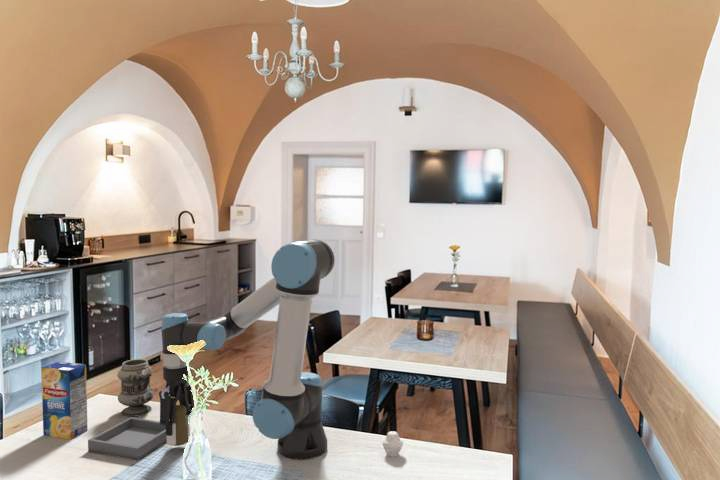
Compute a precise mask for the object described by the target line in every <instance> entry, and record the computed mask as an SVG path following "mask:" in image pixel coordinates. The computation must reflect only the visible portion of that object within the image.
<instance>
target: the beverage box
mask: <svg viewBox="0 0 720 480" xmlns="http://www.w3.org/2000/svg"><path fill="white" fill-rule="evenodd" d="M40 368H41V370H40V371H41V401H42V403H41V404H42V430H43V431H42V433H43V434H42V435H43V436H45V437H46V436H47V437H54V438H59V439H64V440H65V439H66V440H73V439H75V438H76V437H78V436H80V435H82V434H84V433H86V432H88V431H89V430H88V400H87V399H88V398H87V397H88V396H87V395H88V393H87V391H88V390H87V364H85V363H76V362H75V363H74V362H66V361H57V362H54V363H51V364H48V365H45V366H42V367H40Z"/></svg>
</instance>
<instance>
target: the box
mask: <svg viewBox="0 0 720 480" xmlns="http://www.w3.org/2000/svg"><path fill="white" fill-rule="evenodd" d="M165 443H166V444H167V436H166V426H165V425H161V424H160V420H159V421H158V420H152V419H145V418H138V417H134V416H129V417H128V418H126V419H125V420H122V421H121V422H119V423H117V424H115V425H114V426H112V427H110V428H107V429H106V430H104V431H102V432H100V433H99V434H97V435H94V436H93V437H91V438H88V439H87V451H88V452H90V453H95V454H100V455H101V454H102V455H106V456H113V457H118V458H123V459H129V460H133V461H139V460H141V459H142V458H144V457H146V456H147V455H149V454H150V453H151V452H153V451H155V450H157V449H158V448H159V447H161V446H163V445H164V444H165Z"/></svg>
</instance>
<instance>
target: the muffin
mask: <svg viewBox="0 0 720 480" xmlns="http://www.w3.org/2000/svg"><path fill="white" fill-rule="evenodd" d="M381 443H382V446H383V449H384V451H385V453H386V455H387V456H388V457H392V458H393V457H398V455H399V453H400V451H401V449H403V448H402V447H403V445H404V442H403V440H402V439H401V437H400V435H399V433H398V432H397V431H391V430H390V431H389V432H387V434H386V436H385V437H384V438H383V440H382V442H381Z"/></svg>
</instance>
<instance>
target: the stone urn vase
mask: <svg viewBox="0 0 720 480" xmlns="http://www.w3.org/2000/svg"><path fill="white" fill-rule="evenodd" d="M153 374H154V368H153V367H152V366H151V365H150V364H149V360H148V359H145V358H135V359H130V360H126V361H123V362H122V364H121V368H119V370H118V372H117V374H116V375H117V378H118V379H119V380H121V381H120V383H121V391H120V393H119V394H118V396H117V401H118V402H119V403H120V404H121V405H123V406H125V408H124V409H122V411H121V415H122V414H123V415H122V416H124V415H126V416H125V417H139V415H140V416H143V415H147V414H148V413H150V412H151V411H152V407H151V406H150V405H149V404H148V403H149V402H150V401H151V400H152V399H153V398H154V397H155V390H154V389H153V388H152V387H151V376H152V375H153Z"/></svg>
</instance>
